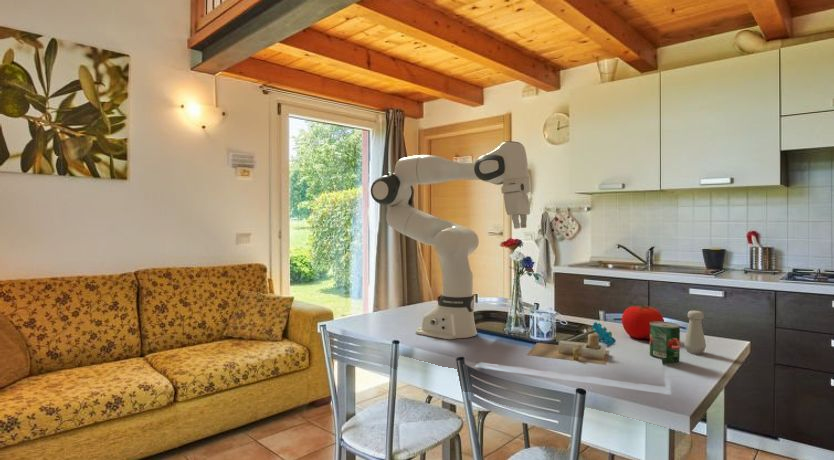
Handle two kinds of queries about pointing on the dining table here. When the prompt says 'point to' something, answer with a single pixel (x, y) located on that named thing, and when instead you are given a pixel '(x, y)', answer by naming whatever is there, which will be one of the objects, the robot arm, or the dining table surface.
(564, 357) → the post board
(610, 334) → the gear
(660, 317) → the tomato
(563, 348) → the tan pipe fitting
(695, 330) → the salt shaker
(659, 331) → the canned tomato
